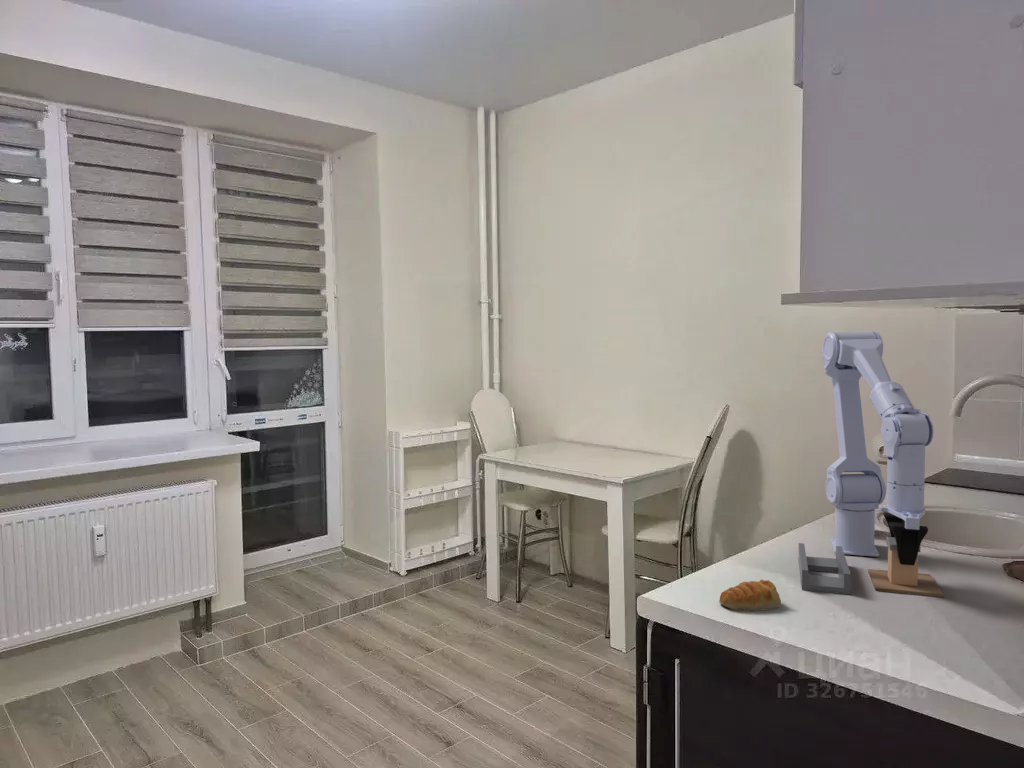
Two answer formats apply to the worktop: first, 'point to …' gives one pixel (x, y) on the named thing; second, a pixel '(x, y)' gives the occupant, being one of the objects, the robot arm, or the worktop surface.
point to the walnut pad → (923, 585)
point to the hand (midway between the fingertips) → (903, 559)
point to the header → (825, 565)
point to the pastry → (751, 596)
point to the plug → (900, 566)
